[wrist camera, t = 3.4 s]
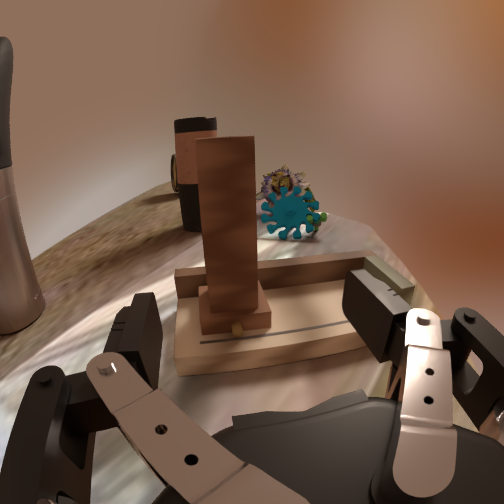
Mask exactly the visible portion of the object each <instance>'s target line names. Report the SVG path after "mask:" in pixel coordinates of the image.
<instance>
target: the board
mask: <svg viewBox="0 0 504 504" xmlns="http://www.w3.org/2000/svg"><path fill="white" fill-rule="evenodd" d="M257 262H258V280H259V282H260V284H261V287H262V289H263V292H264V294H265V297H266V299H267V302H268V304H269V306H270V309H271V311H272V315H271V328H264V329H256V330H248V331H243V336H242V337H240V338H236V337H234V336H233V332H231V333H222V334H213V335H203V336H202V332H201V325H200V318H199V286H207V277H206V268H205V267H195V268H184V269H175V275H174V279H175V285H176V291H177V297H178V303H177V316H176V329H175V345H174V361H175V365H176V368H177V372H178V375H179V376H187V375H199V374H210V373H220V372H229V371H238V370H245V369H253V368H260V367H266V366H273V365H279V364H285V363H291V362H296V361H302V360H307V359H312V358H317V357H322V356H327V355H331V354H336V353H340V352H345V351H349V350H353V349H357V348H361V347H365V346H367V345H366V344H365V342H364V341H363V340H362V338H361V337H360V336H359V334H358V333H357V332H356V330H355V329H354V328H353V326H352V325H351V324H350V322H349V321H348V320H347V318H346V317H345V315H344V313H343V310H342V298H343V290H344V282H345V275H346V273H347V272H348V271H351V270H359V269H365V270H366V271H367V272H368V273H369V274H371V275H372V276H373V277H374V278H376V279H378V280H380V281H382V282H384V283H386V284H387V285H388V286H389V287H390V288H391V289H392V290H394V291H395V292H396V293H397V295H399V296H400V297H401V298H402V299H403V300H404V301H405V302H407V303H408V304H409V305H410V304H411V300H412V296H413V292H414V288H415V285H413V284H412V283H411V282H410V281H409V280H407V279H406V278H405V277H404V276H402V275H401V274H400V273H399V272H398V271H396V270H395V269H394V268H393V267H391V266H390V265H389V264H388V263H386V262H385V261H384V260H382V259H381V258H380V257H379V256H377V255H376V254H375V253H373V252H372V251H371V250H363V251H353V252H344V253H335V254H325V255H316V256H306V257H297V258H287V259H277V260H267V261H257Z"/></svg>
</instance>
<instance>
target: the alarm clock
mask: <svg viewBox="0 0 504 504" xmlns="http://www.w3.org/2000/svg"><path fill="white" fill-rule="evenodd" d="M171 181H172V188H173V191H174V192H178V191H179V190H178V181H177V166H176V154H173V155H172V158H171Z"/></svg>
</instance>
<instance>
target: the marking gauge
mask: <svg viewBox="0 0 504 504" xmlns="http://www.w3.org/2000/svg"><path fill="white" fill-rule="evenodd" d="M195 142H196V160H197V176H198V190H199V203H200V215H201V227H202V238H203V248H204V258H205V268H206V277H207V286H199V318H200V325H201V332H202V336H203V335H213V334H222V333H231V332H233V336H234V337H236V338H240V337H242V336H243V331H248V330H256V329H264V328H271V315H272V311H271V309H270V306H269V304H268V302H267V299H266V297H265V294H264V292H263V289H262V287H261V284H260V282H259V280H258V262H257V220H256V181H255V144H254V136H229V137H212V138H199V139H195Z"/></svg>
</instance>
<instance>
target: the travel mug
mask: <svg viewBox="0 0 504 504" xmlns="http://www.w3.org/2000/svg"><path fill="white" fill-rule="evenodd" d="M174 129H175V150H176V166H177V181H178V190H179V198H180V206H181V214H182V221H183V227H184V229H185V230H187V231H193V232H202V227H201V215H200V203H199V190H198V176H197V160H196V142H195V139H199V138H212V137H217V123H216V117H215V118H208V119H207V118H205V117H194V118H185V119H178V120H175V121H174Z"/></svg>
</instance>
